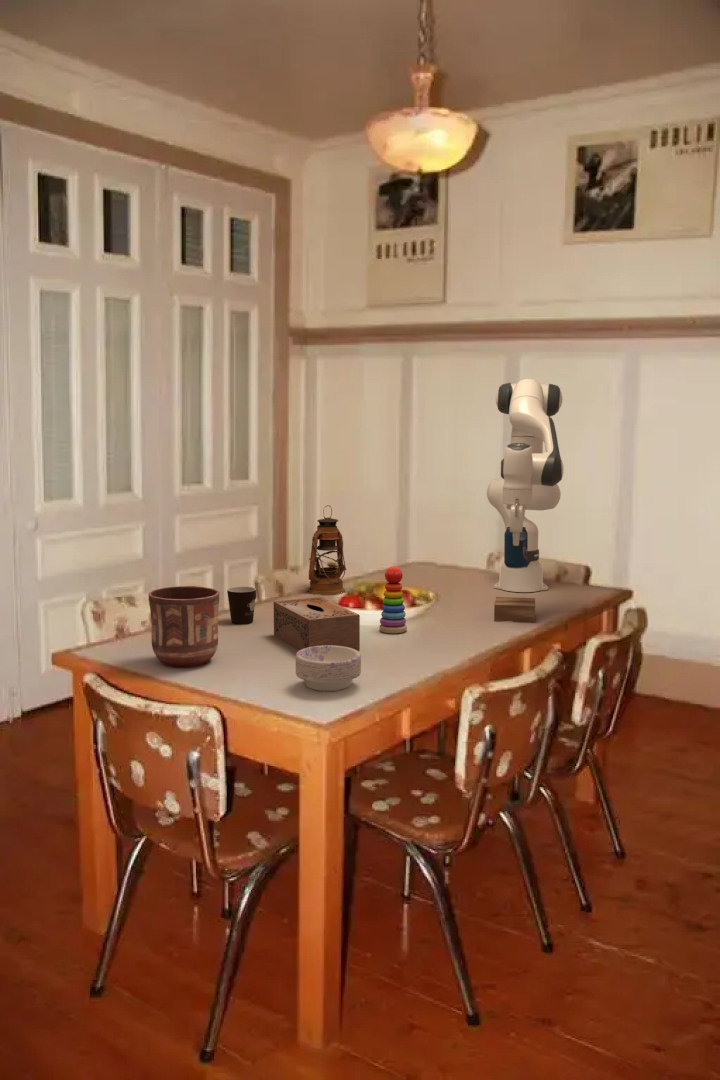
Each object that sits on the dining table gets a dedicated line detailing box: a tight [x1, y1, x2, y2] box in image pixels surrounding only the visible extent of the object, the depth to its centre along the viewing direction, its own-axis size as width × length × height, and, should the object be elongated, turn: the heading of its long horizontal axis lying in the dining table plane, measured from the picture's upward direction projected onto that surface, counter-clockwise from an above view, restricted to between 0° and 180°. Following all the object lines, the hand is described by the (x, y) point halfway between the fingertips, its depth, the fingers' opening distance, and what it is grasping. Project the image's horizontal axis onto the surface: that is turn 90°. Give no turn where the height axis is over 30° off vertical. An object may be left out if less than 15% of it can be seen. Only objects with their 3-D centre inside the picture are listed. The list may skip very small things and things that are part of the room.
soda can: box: [503, 527, 528, 569], centre depth 295 cm, size 7×7×12 cm
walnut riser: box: [493, 596, 536, 624], centre depth 298 cm, size 12×12×5 cm
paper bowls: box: [294, 645, 362, 692], centre depth 227 cm, size 15×15×8 cm
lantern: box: [307, 505, 347, 596], centre depth 336 cm, size 17×13×30 cm
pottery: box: [148, 585, 220, 669], centre depth 247 cm, size 18×18×18 cm
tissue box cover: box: [273, 596, 361, 652], centre depth 267 cm, size 26×14×10 cm, turn 26°
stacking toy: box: [378, 566, 408, 635], centre depth 279 cm, size 8×8×19 cm
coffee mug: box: [226, 586, 257, 626], centre depth 292 cm, size 12×9×10 cm
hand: (516, 543), depth 295 cm, fingers closed on soda can, 7 cm apart
